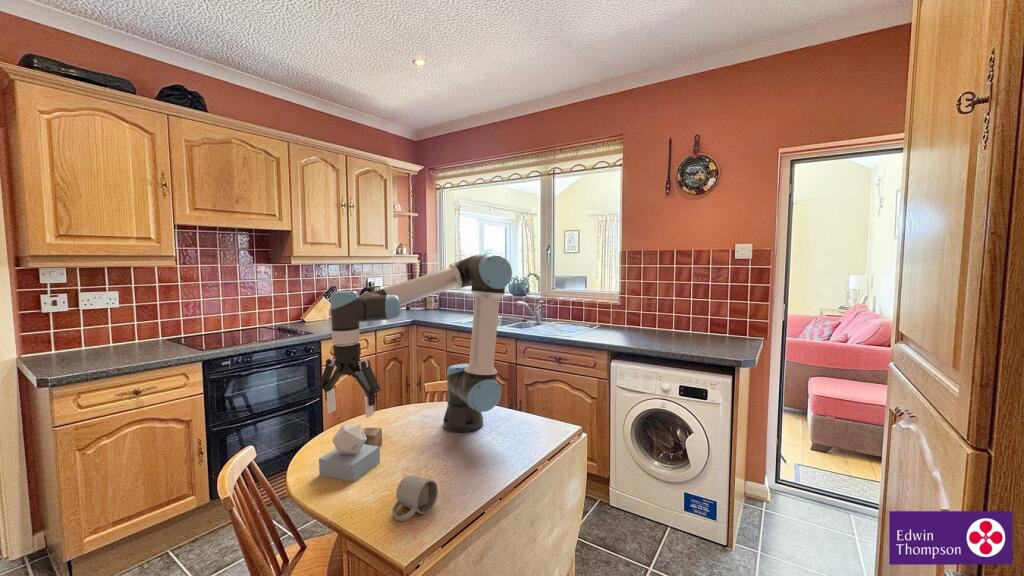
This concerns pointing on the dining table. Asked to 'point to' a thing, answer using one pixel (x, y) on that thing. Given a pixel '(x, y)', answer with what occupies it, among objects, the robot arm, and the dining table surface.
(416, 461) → the dining table surface
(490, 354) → the robot arm
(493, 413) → the dining table surface
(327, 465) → the plinth
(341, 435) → the die
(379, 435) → the walnut cube
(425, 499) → the ceramic mug
